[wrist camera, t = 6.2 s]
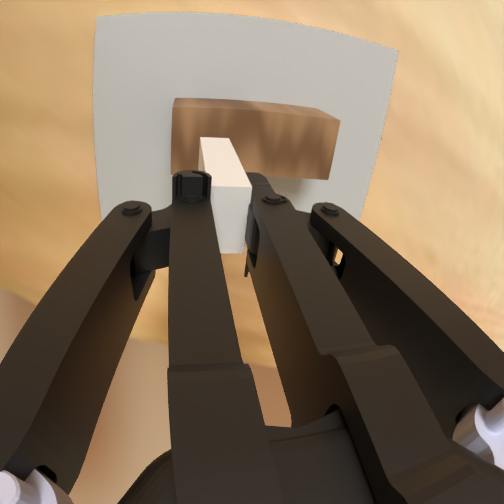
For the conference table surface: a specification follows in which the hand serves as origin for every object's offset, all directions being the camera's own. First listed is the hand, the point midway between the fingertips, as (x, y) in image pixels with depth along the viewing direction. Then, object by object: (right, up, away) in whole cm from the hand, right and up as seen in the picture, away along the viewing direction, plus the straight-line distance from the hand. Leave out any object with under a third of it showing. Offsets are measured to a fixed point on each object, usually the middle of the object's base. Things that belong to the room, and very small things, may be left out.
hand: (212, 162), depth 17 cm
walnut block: (-3, +3, +4) cm, 6 cm away
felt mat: (+2, +5, +8) cm, 9 cm away
